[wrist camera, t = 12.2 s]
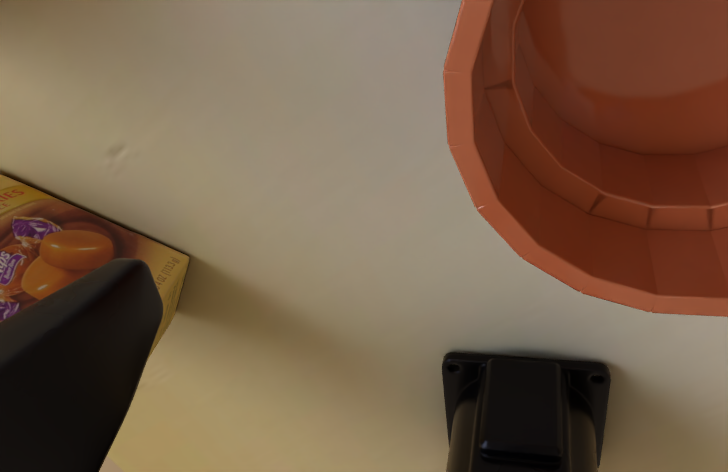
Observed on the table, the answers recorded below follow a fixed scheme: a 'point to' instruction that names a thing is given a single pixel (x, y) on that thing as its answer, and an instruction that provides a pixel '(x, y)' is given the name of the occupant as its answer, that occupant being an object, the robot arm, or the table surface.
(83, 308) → the robot arm
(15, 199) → the candy box
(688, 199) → the bowl
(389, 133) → the table surface
